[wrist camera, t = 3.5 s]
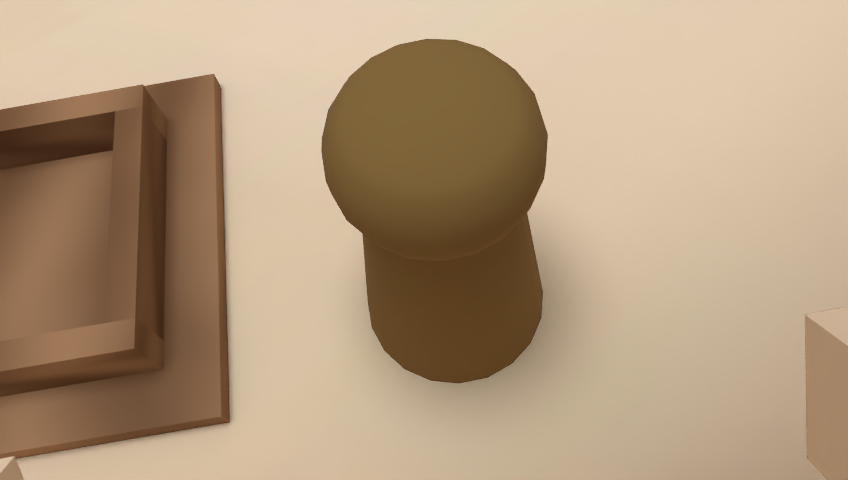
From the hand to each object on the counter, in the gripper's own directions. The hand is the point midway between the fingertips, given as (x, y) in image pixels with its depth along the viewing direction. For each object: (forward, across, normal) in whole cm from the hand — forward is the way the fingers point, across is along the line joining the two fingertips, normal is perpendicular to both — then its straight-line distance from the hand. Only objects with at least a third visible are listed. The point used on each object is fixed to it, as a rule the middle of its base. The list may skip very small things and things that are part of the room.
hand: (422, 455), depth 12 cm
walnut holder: (+16, -16, 0) cm, 22 cm away
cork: (+13, +1, -3) cm, 13 cm away
